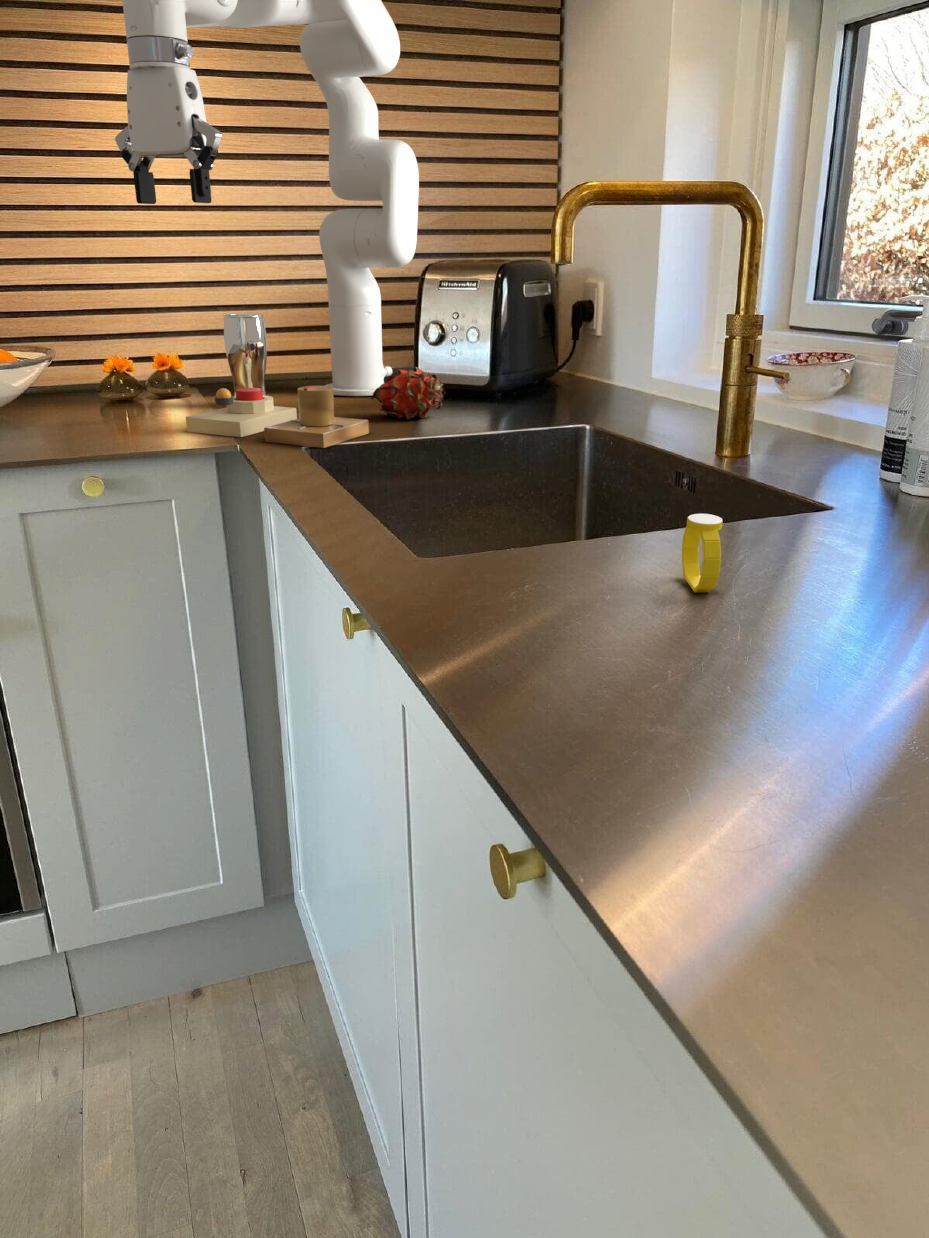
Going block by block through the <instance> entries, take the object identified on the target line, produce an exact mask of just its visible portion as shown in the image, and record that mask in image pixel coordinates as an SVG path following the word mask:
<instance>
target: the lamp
mask: <svg viewBox="0 0 929 1238" xmlns="http://www.w3.org/2000/svg"><path fill="white" fill-rule="evenodd" d="M233 397H234V396H232V393H231V391H230V390H229V389H227V388H225V387H222V388H219V389H218V390H217V391H216V393H215V397H214V404H215V405H216V406H227V405H232V404H233Z"/></svg>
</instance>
